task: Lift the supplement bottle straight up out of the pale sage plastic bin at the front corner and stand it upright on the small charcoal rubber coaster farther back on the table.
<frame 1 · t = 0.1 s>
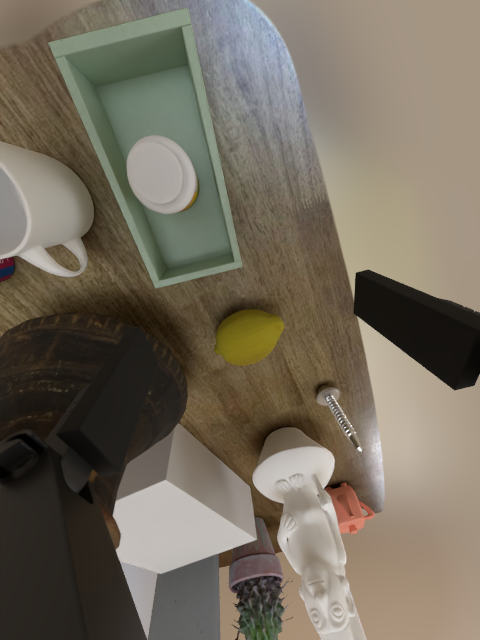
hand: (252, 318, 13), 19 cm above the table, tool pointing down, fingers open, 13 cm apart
box: (171, 477, 54), on the table
lemon: (244, 323, 35), on the table
potted plant: (252, 521, 72), on the table
screw: (323, 388, 45), on the table
ceramic pot: (117, 359, 36), on the table
flask: (191, 524, 68), on the table
white sculpted figure: (285, 443, 53), on the table
teapot: (335, 489, 68), on the table
bin: (176, 185, 25), on the table
mug: (67, 216, 26), on the table
supplement bottle: (175, 185, 25), resting on bin
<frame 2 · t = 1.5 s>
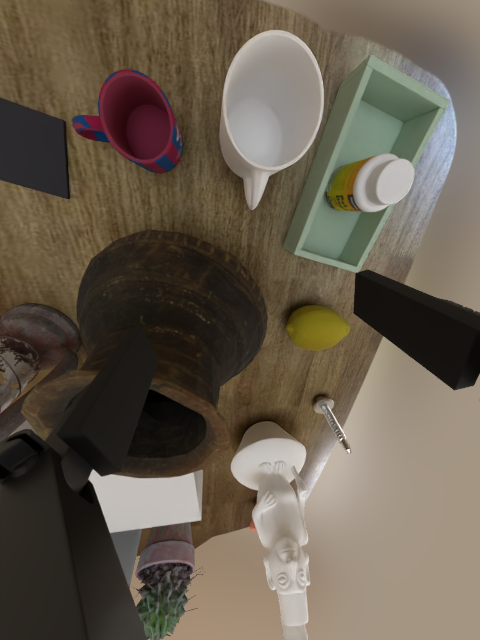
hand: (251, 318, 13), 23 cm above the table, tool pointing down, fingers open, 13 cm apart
box: (139, 436, 51), on the table
lemon: (305, 317, 41), on the table
potted plant: (176, 510, 70), on the table
cup: (140, 138, 26), on the table
screw: (319, 398, 52), on the table
ceramic pot: (187, 298, 35), point 1 cm above the table, touching gripper
flask: (117, 496, 62), on the table
white sculpted figure: (260, 437, 57), on the table
bin: (339, 189, 31), on the table
mug: (250, 158, 28), on the table
lantern: (45, 332, 36), on the table
supplement bottle: (340, 189, 31), resting on bin
coaster: (29, 150, 25), on the table
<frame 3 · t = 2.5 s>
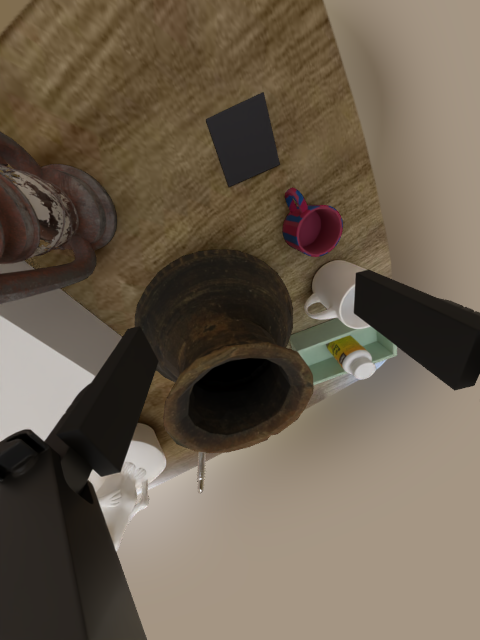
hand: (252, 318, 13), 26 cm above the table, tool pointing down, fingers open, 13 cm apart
box: (23, 356, 41), on the table
cup: (297, 218, 35), on the table
screw: (202, 437, 59), on the table
ceramic pot: (214, 307, 40), on the table
white sculpted figure: (129, 436, 55), on the table
bin: (335, 338, 48), on the table
mug: (323, 285, 41), on the table
lantern: (76, 211, 31), on the table
supplement bottle: (336, 339, 47), resting on bin
coaster: (244, 143, 30), on the table
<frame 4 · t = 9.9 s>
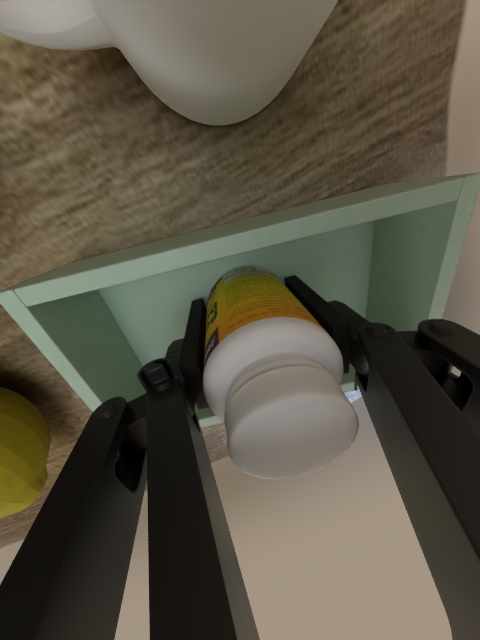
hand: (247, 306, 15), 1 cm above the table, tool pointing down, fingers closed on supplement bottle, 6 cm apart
lemon: (15, 401, 18), on the table
bin: (245, 300, 16), on the table
mug: (174, 20, 9), on the table
supplement bottle: (246, 302, 15), resting on bin, touching gripper
when the fingers open (1 cm above the table, at t = 20.6 s): supplement bottle stays where it is, resting on coaster.
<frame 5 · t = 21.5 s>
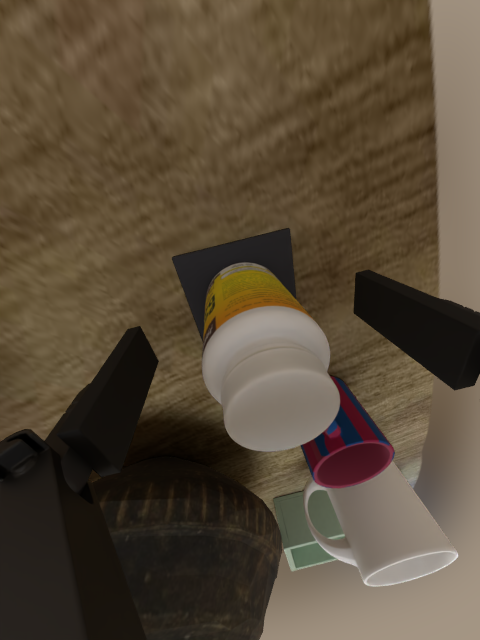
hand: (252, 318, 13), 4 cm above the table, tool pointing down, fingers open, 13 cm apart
cup: (312, 387, 22), on the table
ceramic pot: (168, 474, 27), on the table
bin: (335, 498, 35), on the table
mug: (332, 453, 29), on the table
supplement bottle: (242, 297, 16), resting on coaster
coaster: (242, 296, 16), on the table
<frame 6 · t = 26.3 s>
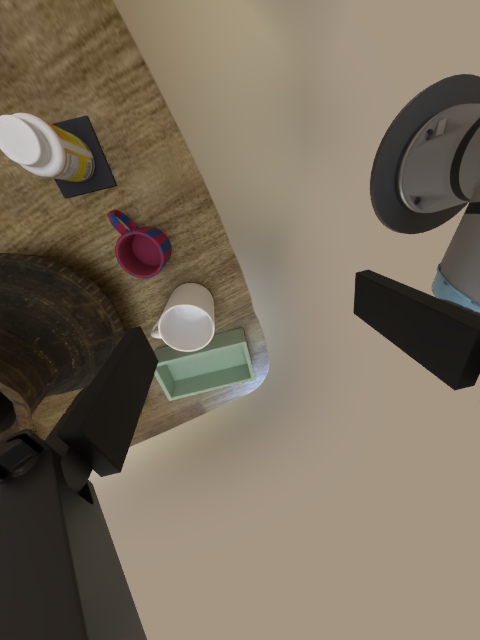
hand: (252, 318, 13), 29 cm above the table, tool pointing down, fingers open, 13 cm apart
cup: (146, 238, 36), on the table
ceramic pot: (70, 310, 41), on the table
bin: (206, 356, 49), on the table
mug: (184, 305, 43), on the table
supplement bottle: (75, 159, 30), resting on coaster
coaster: (76, 160, 30), on the table
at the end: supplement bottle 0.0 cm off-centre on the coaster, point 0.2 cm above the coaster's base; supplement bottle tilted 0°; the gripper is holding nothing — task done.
